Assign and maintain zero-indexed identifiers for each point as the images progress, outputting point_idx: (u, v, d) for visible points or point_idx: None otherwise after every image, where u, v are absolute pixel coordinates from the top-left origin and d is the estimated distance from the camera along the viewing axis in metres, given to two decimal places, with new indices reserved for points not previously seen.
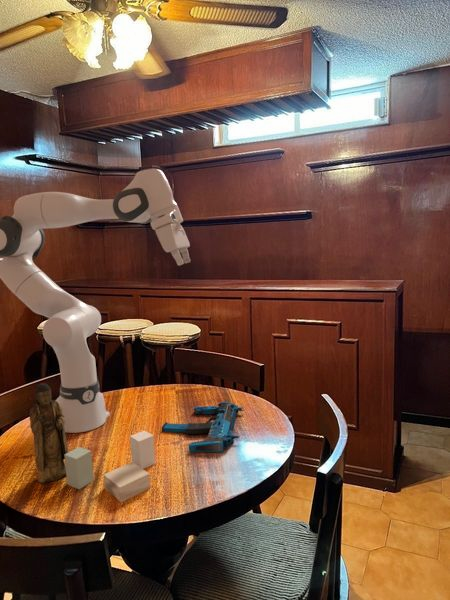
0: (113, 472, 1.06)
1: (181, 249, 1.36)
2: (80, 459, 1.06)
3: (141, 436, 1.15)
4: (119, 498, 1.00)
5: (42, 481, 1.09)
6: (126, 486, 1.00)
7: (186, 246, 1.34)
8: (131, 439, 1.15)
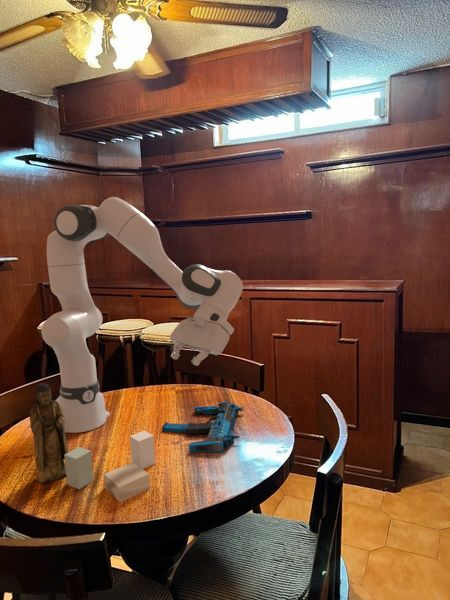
0: (113, 472, 1.06)
1: (180, 343, 1.25)
2: (80, 459, 1.06)
3: (141, 436, 1.15)
4: (118, 498, 1.00)
5: (42, 481, 1.09)
6: (125, 487, 1.00)
7: (187, 347, 1.25)
8: (131, 439, 1.15)
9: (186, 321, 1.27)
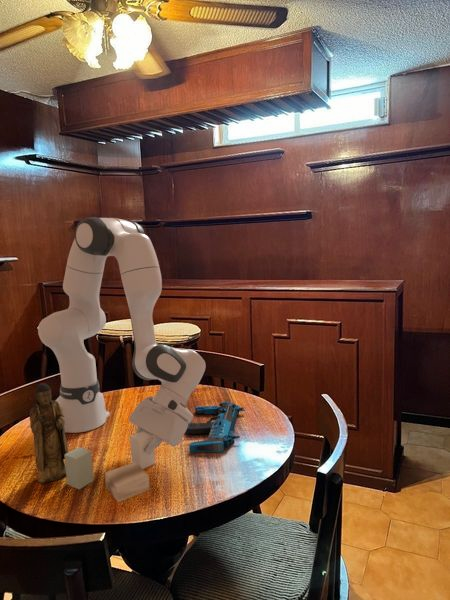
0: (114, 471, 1.06)
1: None
2: (80, 459, 1.06)
3: (141, 436, 1.15)
4: (116, 498, 1.00)
5: (42, 481, 1.09)
6: (123, 487, 1.00)
7: (146, 431, 1.21)
8: (131, 439, 1.15)
9: (146, 402, 1.23)
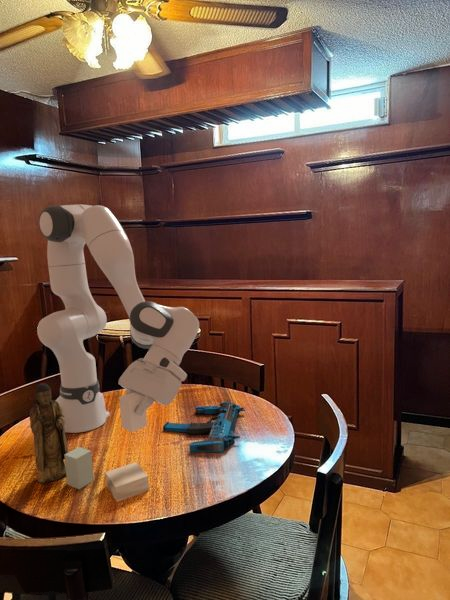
0: (115, 471, 1.06)
1: None
2: (80, 459, 1.06)
3: (131, 397, 1.07)
4: (115, 498, 1.00)
5: (42, 481, 1.09)
6: (122, 487, 1.00)
7: None
8: (120, 400, 1.07)
9: (136, 363, 1.15)
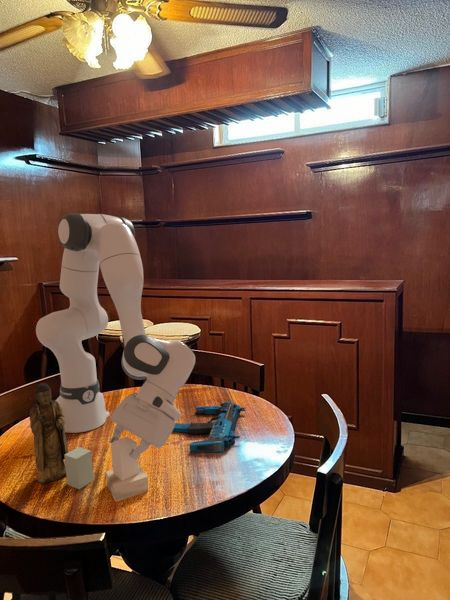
0: None
1: (121, 426, 1.09)
2: (80, 459, 1.06)
3: (123, 443, 1.03)
4: (114, 498, 1.00)
5: (42, 481, 1.09)
6: (121, 487, 1.00)
7: (130, 431, 1.09)
8: (112, 446, 1.04)
9: (129, 399, 1.11)
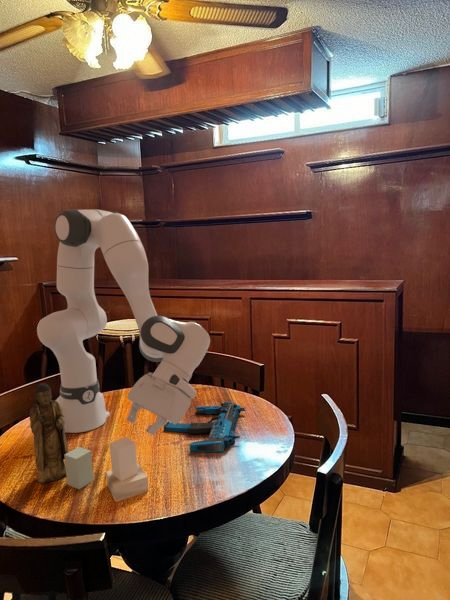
0: None
1: (137, 404, 1.11)
2: (80, 459, 1.06)
3: (121, 444, 1.03)
4: (114, 498, 1.00)
5: (42, 481, 1.09)
6: (121, 487, 1.00)
7: (146, 409, 1.12)
8: (111, 447, 1.03)
9: (146, 378, 1.14)
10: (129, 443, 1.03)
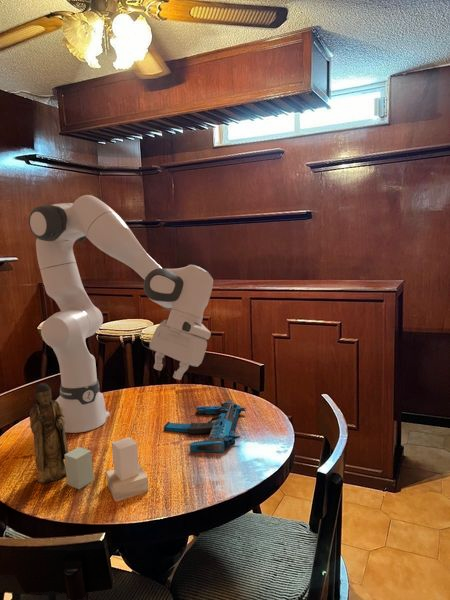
0: None
1: (160, 352, 1.19)
2: (80, 459, 1.06)
3: (123, 443, 1.03)
4: (114, 498, 1.00)
5: (42, 481, 1.09)
6: (121, 487, 1.00)
7: None
8: (113, 446, 1.04)
9: (162, 327, 1.19)
10: (131, 443, 1.03)
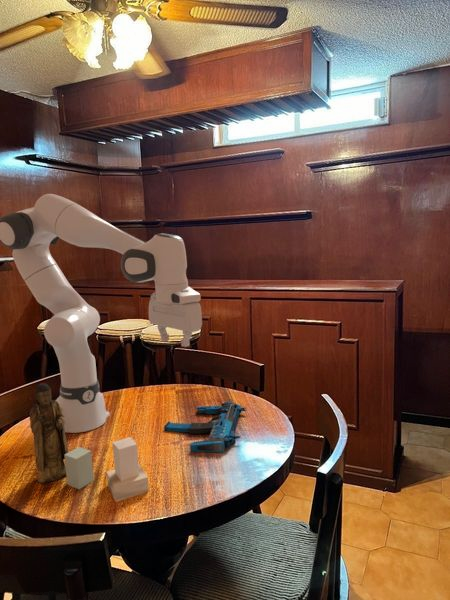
0: None
1: None
2: (80, 459, 1.06)
3: (124, 444, 1.03)
4: (114, 498, 1.00)
5: (42, 481, 1.09)
6: (121, 487, 1.00)
7: None
8: (113, 446, 1.04)
9: (153, 301, 1.21)
10: (131, 444, 1.03)
